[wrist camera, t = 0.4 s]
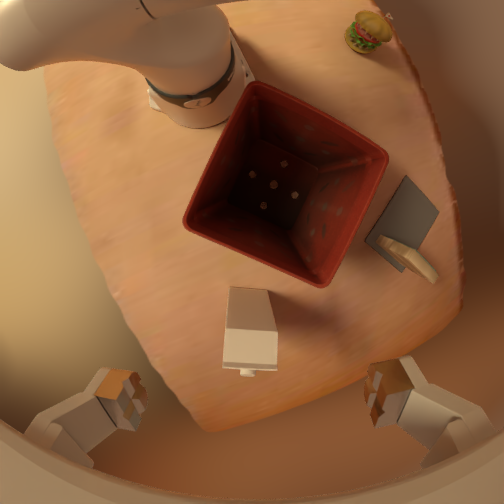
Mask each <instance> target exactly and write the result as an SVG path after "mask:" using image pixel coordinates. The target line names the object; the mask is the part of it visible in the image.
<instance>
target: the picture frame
mask: <svg viewBox="0 0 504 504" xmlns="http://www.w3.org/2000/svg"><path fill="white" fill-rule="evenodd" d="M376 243H377V244H378V245H379V246H380V247H382V248H383V249H384V250H385V251H386V252H387V253H388V254H389V255H391V256H392V257H393V258H394V259H395V260H396V261H397V262H398V263H400V264H401V265H403V266H405V267H406V268H408V269H410V270H411V271H413V272H415V273H416V274H418V275H420V276H421V277H423V278H425V279H426V280H428V281H430V282H431V283H433V284H434V282H435V281H436V279H437V278H438V276H439V275H438V274H437V273H436V270H435V269H434V268H433V267H432V266H431V265H430V264H429V263H428V262H427V260H426V259H425V258H424V257H423V256H422V255H421V254H420V253H419V252H418V251H417V250H416V249H413V248H411V247H409V246H407V245H405V244H402V243H400V242H398V241H396V240H393V239H391V238H389V237H387V236H383V235H380V236H379V237H378V239H377V240H376Z"/></svg>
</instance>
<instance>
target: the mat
mask: <svg viewBox="0 0 504 504" xmlns="http://www.w3.org/2000/svg"><path fill="white" fill-rule="evenodd" d="M438 213H439V211H438V210H437V209H436V207H435V206H434V205H433V204H432V203H431V202H430V200H429V199H428V198H427V197H426V196H425V195H424V194H423V192H422V191H421V190H420V189H419V188H418V187H417V186H416V185H415V184H414V183H413V182H412V181H411V180H410V178H409V177H408V176H407V175H406V176H405V177H404V179H403V181H402V182H401V184H400V186H399V187H398V189H397V191H396V192H395V194H394V196H393V197H392V199H391V200H390V202H389V204H388V205H387V207H386V208H385V210H384V212H383V213H382V215H381V216H380V218H379V219H378V221H377V222H376V224H375V225H374V227H373V228H372V230H371V231H370V233H369V234H368V236H367V237H366V239H365V240H364V241H365V242H366V243H367V244H369V245H370V246H371V247H372V248H373V249H375V250H376V251H377V252H378V253H379V254H380V255H382V256H383V257H384V258H385V259H386V260H387V261H389V262H390V263H391V264H392V265H393V266H394V267H395V268H397V269H398V270H399V271H400V272H401V273H402V272H403V270H404V269H405V266H403V265H401V264H400V263H398V262H397V261H396V260H395V259H394V258H393V257H392V256H391V255H389V254H388V253H387V252H386V251H385V250H384V249H383V248H382V247H380V246H379V245H378V244H377V243H376V240H377V239H378V237H379V236H380V235H383V236H387V237H389V238H391V239H393V240H396V241H398V242H400V243H402V244H405V245H407V246H409V247H411V248H413V249H416V250H417V249H418V247H419V246H420V244H421V243H422V241H423V239H424V238H425V236H426V234H427V233H428V231H429V229H430V228H431V226H432V224H433V222H434V221H435V219H436V217H437V215H438Z"/></svg>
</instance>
